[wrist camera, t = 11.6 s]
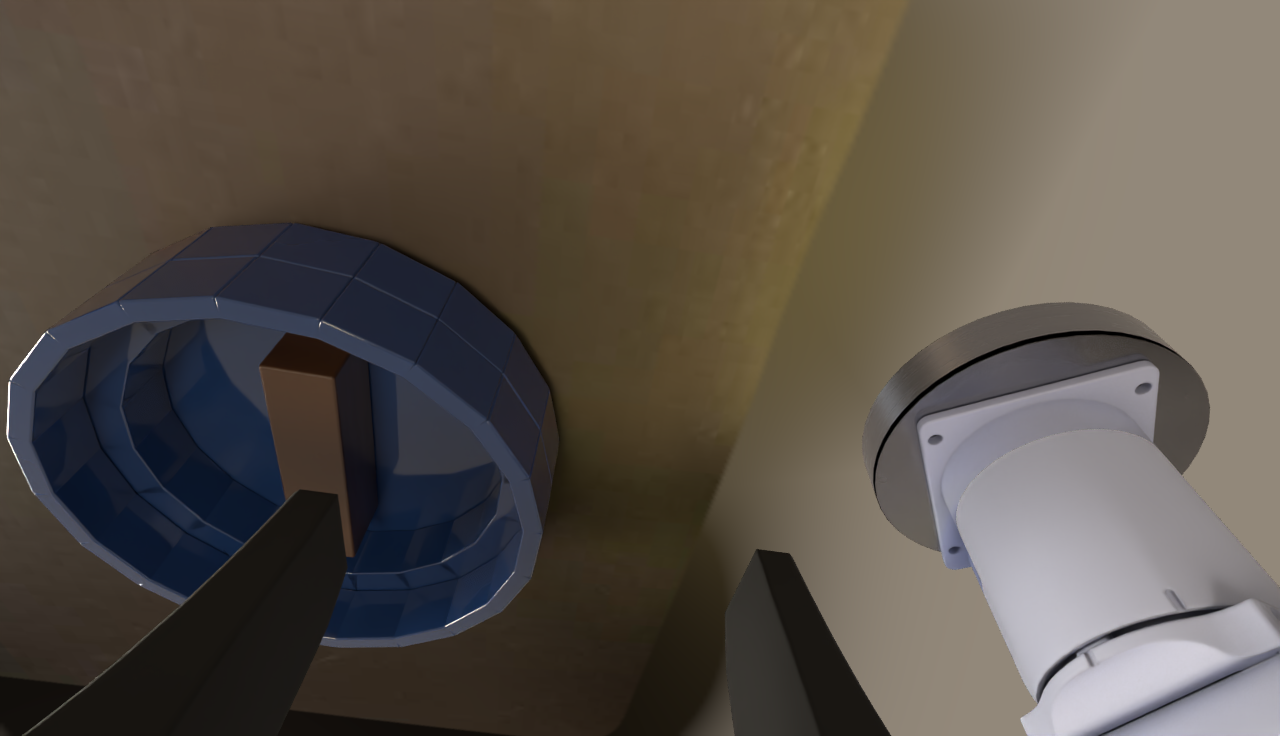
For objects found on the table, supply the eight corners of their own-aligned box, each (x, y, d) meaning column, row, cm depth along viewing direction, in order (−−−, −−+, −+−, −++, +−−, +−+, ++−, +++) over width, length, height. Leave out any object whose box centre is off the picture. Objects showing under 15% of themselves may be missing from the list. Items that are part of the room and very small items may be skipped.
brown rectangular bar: (379, 505, 24) (354, 559, 22) (323, 496, 24) (293, 550, 22) (366, 328, 19) (334, 378, 17) (297, 316, 19) (256, 365, 17)
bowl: (623, 495, 24) (617, 601, 21) (317, 572, 28) (266, 676, 24) (407, 136, 16) (335, 208, 13) (18, 307, 20) (-124, 402, 16)
